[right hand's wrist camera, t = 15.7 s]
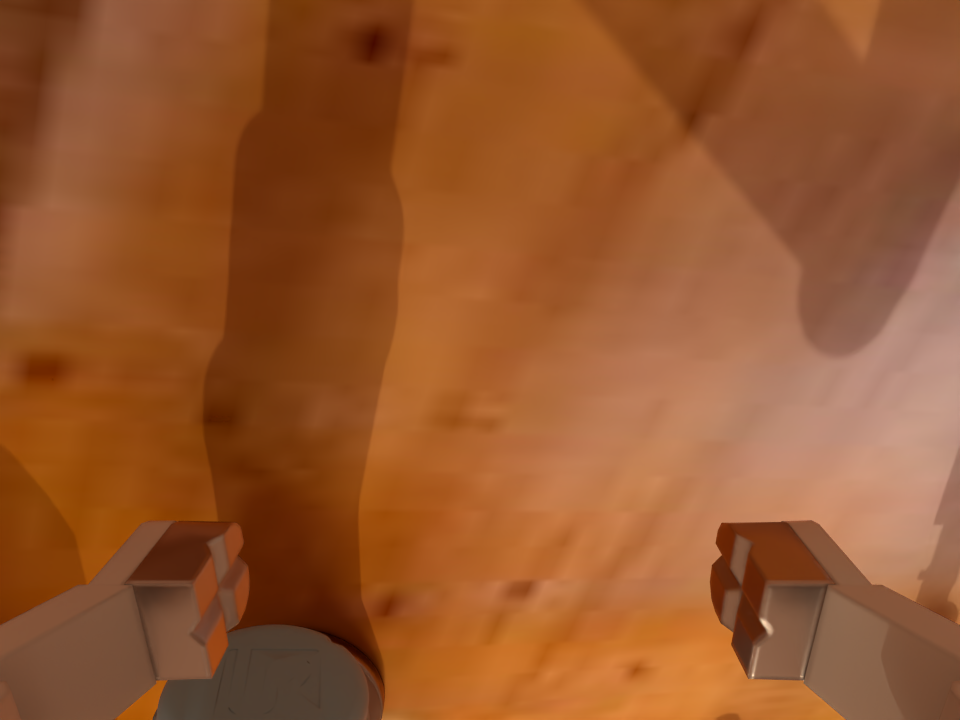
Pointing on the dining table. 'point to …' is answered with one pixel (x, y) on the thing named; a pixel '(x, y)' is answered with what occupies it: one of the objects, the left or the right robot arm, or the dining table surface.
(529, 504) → the dining table surface
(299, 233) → the dining table surface
